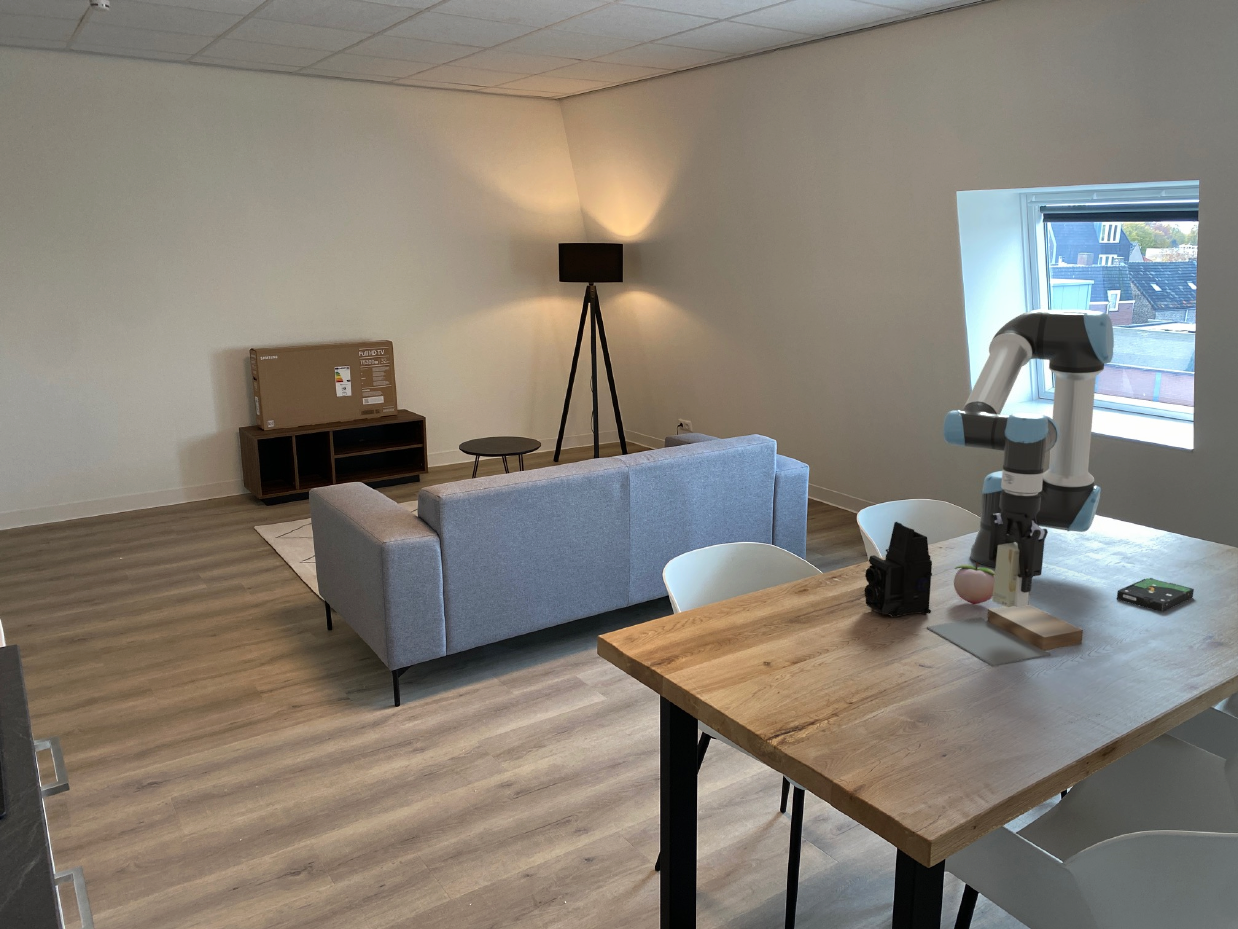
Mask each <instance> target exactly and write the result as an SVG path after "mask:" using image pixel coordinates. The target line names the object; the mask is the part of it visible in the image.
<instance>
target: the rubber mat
mask: <svg viewBox="0 0 1238 929" xmlns="http://www.w3.org/2000/svg"><path fill="white" fill-rule="evenodd" d="M926 628H927V630H929V631H931V632H933V633H935V634H937V635H938V636H940V637H942V638H943V639H945V640H947V641H949V642H951V643H952V644H954V645H956V646H958V647H959V648H961V649H963V650H964V651H966V652H968V653H970V654H971V655H973V656H975V657H976V658H978V659H980V660H982V661H983V662H984V663H987V664H988V665H990V666H992V667H996V666H1002V665H1005V664H1006V665H1007V664H1011V663H1016V662H1017V663H1018V662H1022V661H1027V660H1033V659H1037V658H1043V657H1044V658H1045V657H1048V656H1051V653H1050V652H1048V651H1044V650H1042V649H1040V648H1038V647H1036V646H1035V645H1033V644H1031V643H1029V642H1027V641H1025V640H1023V639H1021V638H1019V637H1017V636H1015V635H1013V634H1011V633H1010V632H1008V631H1006V630H1004V629H1002V628H1000V627H998V626H996V625H994V624H992V623H990V622H988V621H987V619H984V618H983V617H975V618H970V619H964V620H963V619H962V620H958V621H952V622H947V623H940V624H935V625H930V626H929V625H928V626H926Z"/></svg>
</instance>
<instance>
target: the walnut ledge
mask: <svg viewBox="0 0 1238 929" xmlns="http://www.w3.org/2000/svg"><path fill="white" fill-rule="evenodd" d="M986 618H987V619H986V621H988V622H990V623H992V624H994V625H996V626H998V627H1000V628H1002V629H1004V630H1006V631H1008V632H1010V633H1011V634H1013V635H1015V636H1017V637H1019V638H1021V639H1023V640H1025V641H1027V642H1029V643H1031V644H1033V645H1035V646H1036V647H1038V648H1040V649H1042V650H1044V651H1046V652H1048V651H1051V650H1057V649H1061V648H1068V647H1072V646H1077V645H1082V644H1083V638H1084V637H1083V635H1084V629H1083V628H1080V627H1078V626H1076V625H1073V624H1071V623H1069V622H1067V621H1065V620H1063V619H1060V618H1058V617H1056V616H1054V615H1052V614H1050V613H1048V612H1045V611H1044V610H1041V609H1039V608H1037V607H1035V606H1033V605H1031V604H1029V603H1028V605H1027V606H1022V607H1015V606H1013V607H1006V606H1004V605H1003V606H999V607H993V608H988V609H987V617H986Z"/></svg>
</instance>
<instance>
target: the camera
mask: <svg viewBox="0 0 1238 929" xmlns="http://www.w3.org/2000/svg"><path fill="white" fill-rule="evenodd" d="M928 541H929V540H928V537H927V536H926V535H923V534H922V533H919V532H918V531H917V532H916V531H915V529H912V528H911V527H907V526H905V525H903V524H902V523H901V522H898V521H894V523H893V528H892V533H891V538H890V541H889V546H888V548H887V549H885V552H886V554H885V559H882V558H880V557H879V556H876V555H875V554H874V555H870V556H869V559H868V562H869V567H868V568H866V570H865V576H864V577H865V580H866V582H867V583H868V584H866V586H865V588H864V596H865V604H866V606H867V607H868V608H870V609H872V610H873V611H874V612H875V611H876V612H877V613H879V614H881V615H885V614H887V615H889V616H890V617H892V618H895V617H899V616H900V617H903V616H905V615H909V614H916V613H921V614H923V615H924V616H926V615H927V614H928V615H929V614H931V613H932V610H931V609H930V596H931V583H932V582H931V581H932V576H933V573H932V568H933V561H932V560H931V555H930V554H929V545H928V544H929V543H928Z"/></svg>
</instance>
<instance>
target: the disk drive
mask: <svg viewBox="0 0 1238 929" xmlns="http://www.w3.org/2000/svg"><path fill="white" fill-rule="evenodd" d="M1194 592H1195V589H1194V588H1193V587H1192V588H1191V587H1188V586H1184V585H1182V584H1181V585H1179V584H1176V583H1173V582H1166V581H1162V580H1159V579H1155V578H1153V577H1148V578H1144V579H1141V580H1139V581H1136V582H1133V583H1132V584H1130V585H1127V586H1125V587H1122V588H1120V589H1119V590H1117V594H1116V600H1118V599H1119V600H1118V601H1121V600H1122V602H1124V601H1125V603H1128V602H1129V603H1128V604H1132V605H1135V604H1136V605H1135V606H1138V605H1140V606H1139V607H1143V608H1145V609H1149V610H1153V611H1155V612H1160V613H1164V612H1167V611H1169V610H1170V609H1172V608H1174V607H1177V606H1178V605H1181V604H1183V603H1185V602H1187V600H1188V601H1190V600H1192V599H1193V598H1192V597H1194ZM1191 598H1192V599H1191Z"/></svg>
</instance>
